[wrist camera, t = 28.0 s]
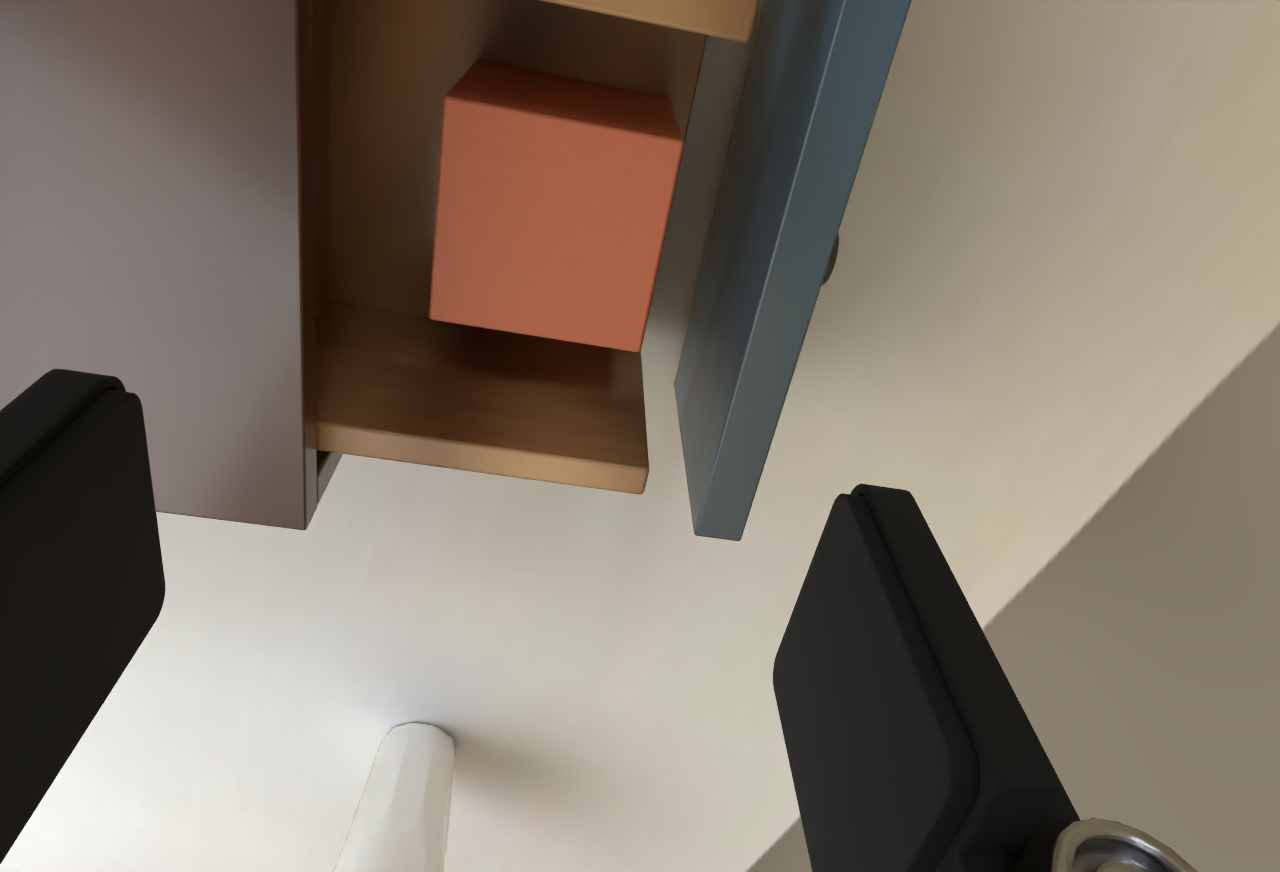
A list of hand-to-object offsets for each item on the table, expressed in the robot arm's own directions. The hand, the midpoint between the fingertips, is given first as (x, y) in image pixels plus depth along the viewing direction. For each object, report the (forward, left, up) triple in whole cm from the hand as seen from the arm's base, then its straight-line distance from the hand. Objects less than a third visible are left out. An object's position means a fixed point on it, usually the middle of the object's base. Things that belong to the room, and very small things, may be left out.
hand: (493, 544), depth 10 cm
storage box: (0, 0, -17) cm, 17 cm away
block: (0, 0, -16) cm, 16 cm away
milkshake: (+21, +17, -18) cm, 33 cm away
